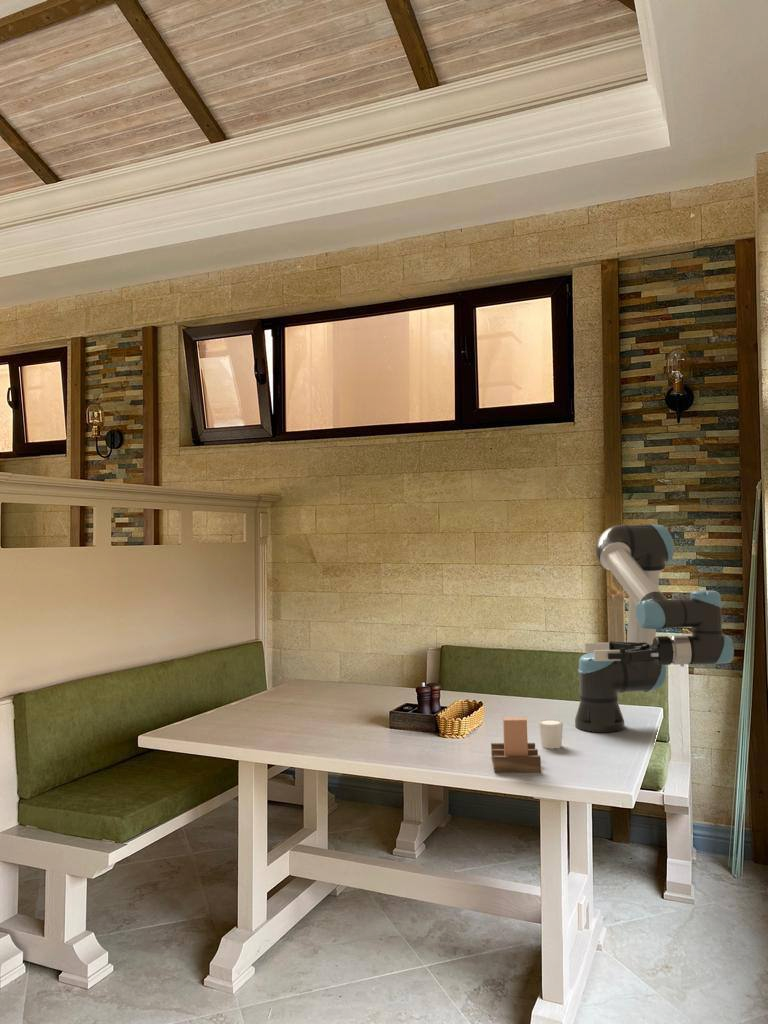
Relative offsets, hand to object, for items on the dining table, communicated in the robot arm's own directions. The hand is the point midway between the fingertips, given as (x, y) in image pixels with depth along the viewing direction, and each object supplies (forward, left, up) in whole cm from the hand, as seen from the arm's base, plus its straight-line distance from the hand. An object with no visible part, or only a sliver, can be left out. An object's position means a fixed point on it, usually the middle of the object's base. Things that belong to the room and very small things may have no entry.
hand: (589, 651), depth 210 cm
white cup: (-18, -9, -30) cm, 36 cm away
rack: (0, -21, -30) cm, 36 cm away
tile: (+3, -21, -29) cm, 36 cm away
